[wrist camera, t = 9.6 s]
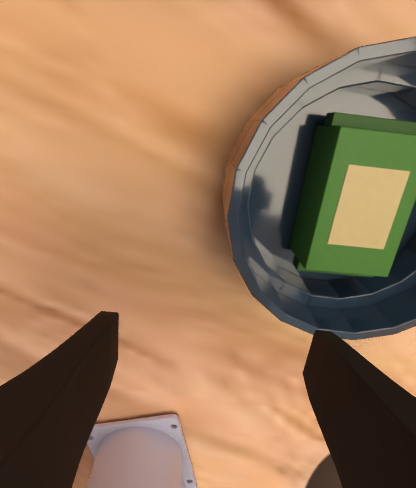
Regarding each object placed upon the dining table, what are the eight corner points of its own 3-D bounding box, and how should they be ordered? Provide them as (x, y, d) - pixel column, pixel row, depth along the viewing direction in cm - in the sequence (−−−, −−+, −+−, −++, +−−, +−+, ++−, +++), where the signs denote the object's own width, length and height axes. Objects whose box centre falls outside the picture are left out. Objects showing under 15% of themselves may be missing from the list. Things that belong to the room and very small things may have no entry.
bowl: (439, 275, 21) (506, 318, 16) (237, 305, 22) (247, 355, 17) (468, 39, 16) (578, 6, 11) (205, 87, 17) (205, 74, 12)
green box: (357, 262, 20) (385, 288, 17) (287, 255, 20) (302, 280, 17) (401, 123, 17) (445, 123, 14) (318, 113, 17) (344, 111, 14)
